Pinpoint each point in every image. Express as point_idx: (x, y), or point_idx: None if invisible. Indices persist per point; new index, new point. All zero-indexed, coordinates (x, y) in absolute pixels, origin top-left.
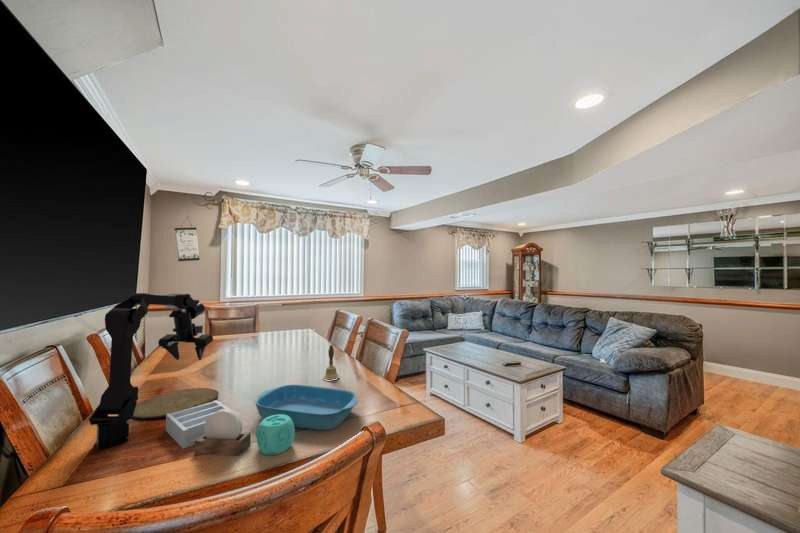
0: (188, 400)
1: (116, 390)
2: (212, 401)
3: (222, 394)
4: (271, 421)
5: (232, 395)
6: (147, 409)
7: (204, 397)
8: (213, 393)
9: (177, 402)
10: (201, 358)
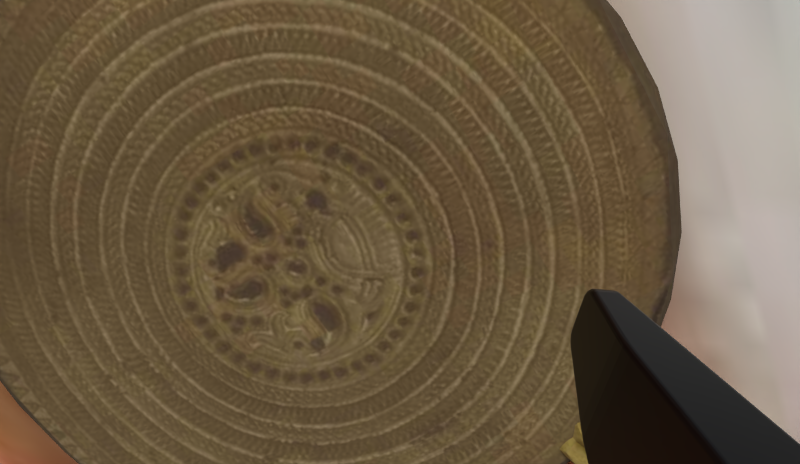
0: (429, 282)
1: None
2: None
3: (677, 50)
4: None
5: (792, 92)
6: (170, 416)
7: (562, 235)
8: (616, 128)
9: (346, 313)
10: (619, 310)
